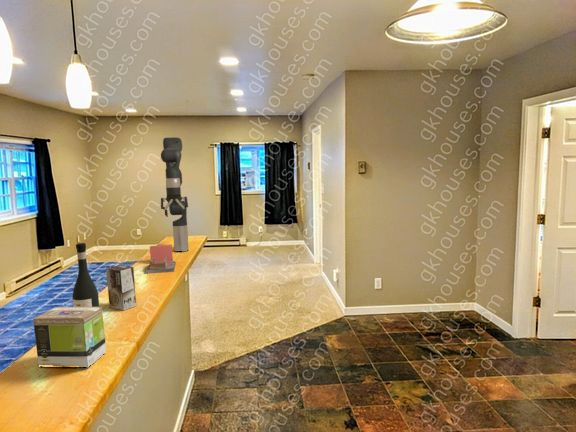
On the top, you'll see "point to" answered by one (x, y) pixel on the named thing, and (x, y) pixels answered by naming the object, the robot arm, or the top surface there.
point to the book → (161, 253)
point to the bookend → (167, 263)
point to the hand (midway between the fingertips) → (175, 216)
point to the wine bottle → (84, 282)
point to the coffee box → (121, 287)
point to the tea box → (70, 336)
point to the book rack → (159, 267)
